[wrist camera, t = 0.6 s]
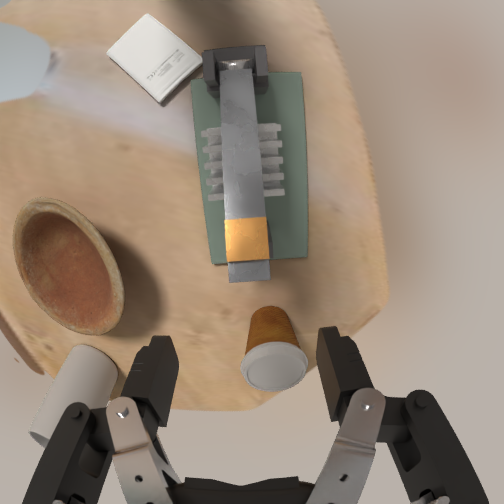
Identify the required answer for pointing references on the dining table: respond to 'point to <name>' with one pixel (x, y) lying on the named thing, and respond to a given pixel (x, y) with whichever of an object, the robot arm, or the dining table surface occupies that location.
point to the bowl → (68, 267)
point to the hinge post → (235, 54)
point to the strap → (242, 174)
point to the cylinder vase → (75, 389)
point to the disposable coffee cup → (272, 352)
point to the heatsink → (268, 160)
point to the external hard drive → (154, 57)
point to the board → (294, 165)
